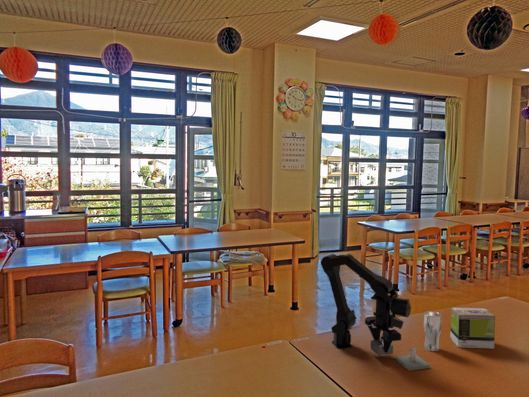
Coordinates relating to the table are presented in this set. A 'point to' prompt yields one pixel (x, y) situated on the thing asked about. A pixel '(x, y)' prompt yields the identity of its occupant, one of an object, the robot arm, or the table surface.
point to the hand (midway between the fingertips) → (381, 348)
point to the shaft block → (412, 361)
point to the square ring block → (380, 347)
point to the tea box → (472, 327)
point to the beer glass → (432, 330)
